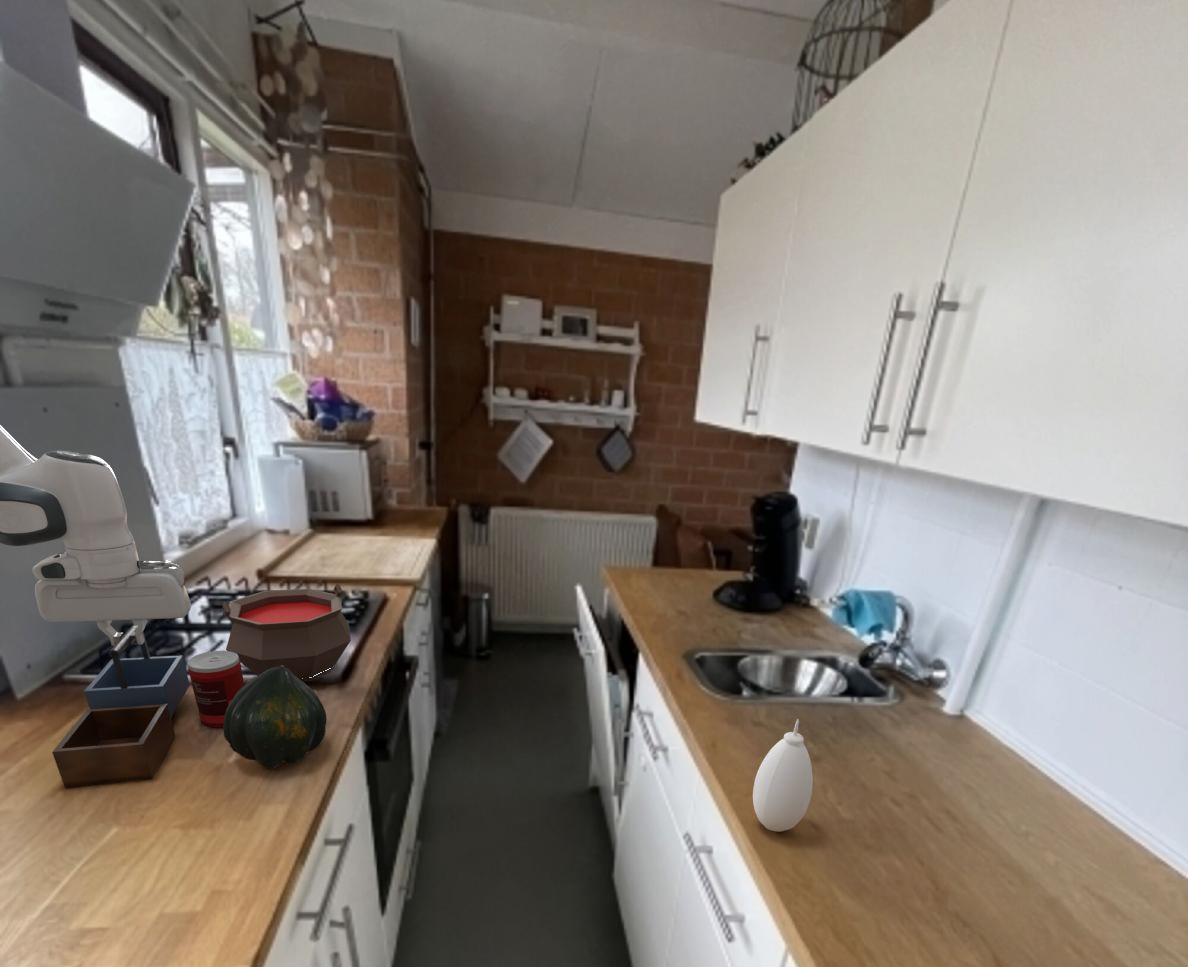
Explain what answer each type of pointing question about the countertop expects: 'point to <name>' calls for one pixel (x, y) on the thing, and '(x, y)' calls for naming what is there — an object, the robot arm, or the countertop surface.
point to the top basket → (138, 680)
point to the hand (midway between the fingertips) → (128, 644)
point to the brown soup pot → (288, 631)
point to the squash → (275, 719)
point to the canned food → (215, 684)
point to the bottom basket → (115, 745)
